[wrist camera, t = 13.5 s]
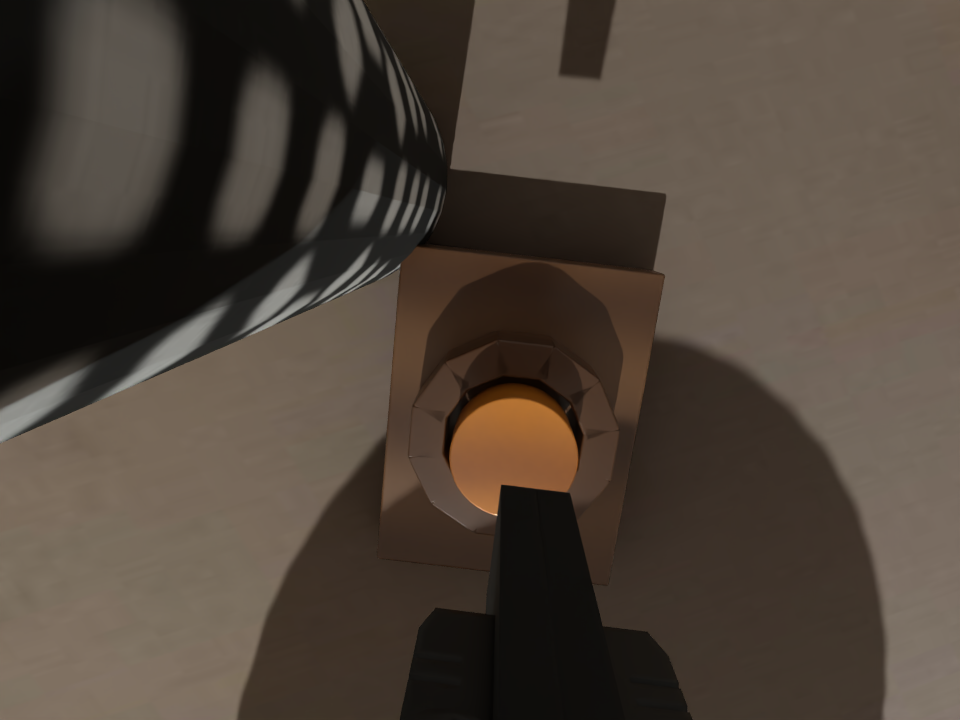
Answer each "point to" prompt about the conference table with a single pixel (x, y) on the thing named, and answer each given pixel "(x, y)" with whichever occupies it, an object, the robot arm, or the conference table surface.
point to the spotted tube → (192, 182)
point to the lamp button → (511, 444)
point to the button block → (511, 359)
